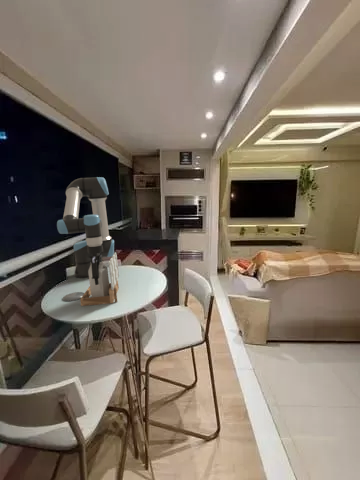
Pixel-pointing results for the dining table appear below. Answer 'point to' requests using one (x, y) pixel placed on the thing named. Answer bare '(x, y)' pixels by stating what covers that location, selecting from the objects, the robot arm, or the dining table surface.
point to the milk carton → (103, 281)
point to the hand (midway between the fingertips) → (100, 286)
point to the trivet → (73, 296)
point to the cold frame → (113, 285)
